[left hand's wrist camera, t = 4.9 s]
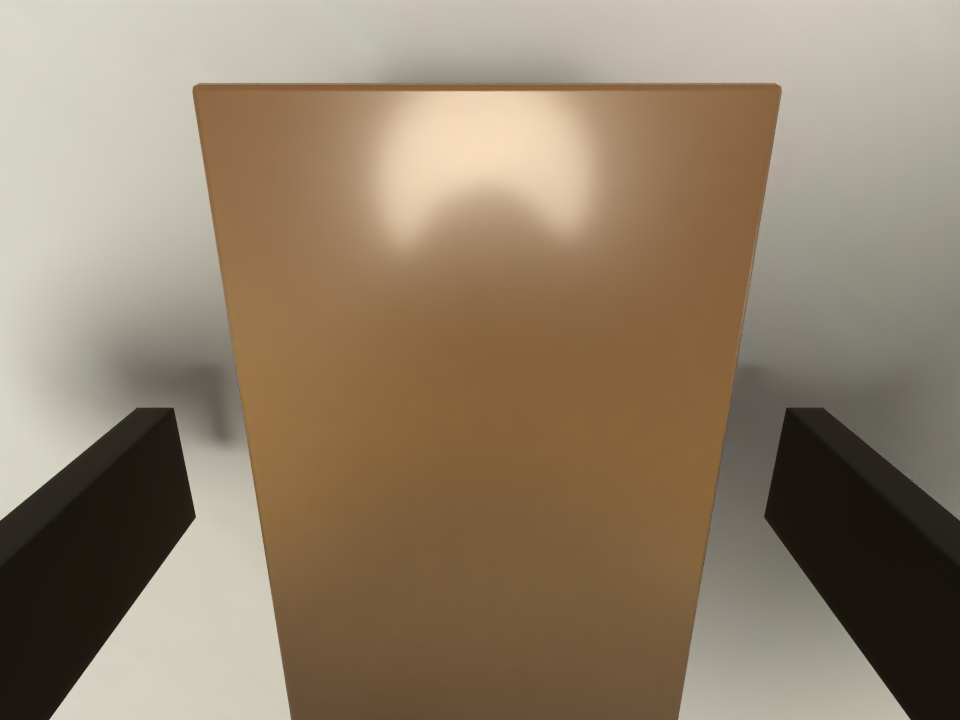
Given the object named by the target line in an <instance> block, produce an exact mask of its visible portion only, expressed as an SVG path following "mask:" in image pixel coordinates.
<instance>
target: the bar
mask: <svg viewBox="0 0 960 720" xmlns="http://www.w3.org/2000/svg"><path fill="white" fill-rule="evenodd" d="M781 92H782V91H781V86H780V85H778V84H776V83H199V84H197V85H195V86H193V98H194V104H195V110H196V117H197V123H198V130H199V136H200V142H201V149H202V155H203V161H204V168H205V174H206V180H207V187H208V193H209V200H210V206H211V212H212V219H213V225H214V231H215V238H216V244H217V250H218V257H219V263H220V269H221V276H222V282H223V289H224V295H225V301H226V308H227V314H228V320H229V327H230V333H231V339H232V346H233V352H234V358H235V365H236V371H237V378H238V384H239V390H240V397H241V403H242V409H243V416H244V422H245V428H246V435H247V441H248V447H249V454H250V460H251V467H252V473H253V479H254V486H255V492H256V498H257V505H258V511H259V517H260V524H261V530H262V536H263V543H264V549H265V556H266V562H267V568H268V575H269V581H270V587H271V594H272V600H273V606H274V613H275V619H276V625H277V632H278V638H279V645H280V651H281V657H282V664H283V670H284V676H285V683H286V689H287V695H288V702H289V708H290V714H291V720H678V716H679V710H680V704H681V698H682V692H683V686H684V680H685V674H686V668H687V662H688V656H689V650H690V644H691V638H692V632H693V626H694V619H695V613H696V607H697V601H698V595H699V589H700V583H701V577H702V571H703V565H704V559H705V553H706V547H707V541H708V535H709V529H710V523H711V516H712V510H713V504H714V498H715V492H716V486H717V480H718V474H719V468H720V462H721V456H722V450H723V444H724V438H725V432H726V426H727V419H728V413H729V407H730V401H731V395H732V389H733V383H734V377H735V371H736V365H737V359H738V353H739V347H740V341H741V335H742V329H743V322H744V316H745V310H746V304H747V298H748V292H749V286H750V280H751V274H752V268H753V262H754V256H755V250H756V244H757V238H758V232H759V225H760V219H761V213H762V207H763V201H764V195H765V189H766V183H767V177H768V171H769V165H770V159H771V153H772V147H773V141H774V135H775V128H776V122H777V116H778V110H779V104H780V98H781Z"/></svg>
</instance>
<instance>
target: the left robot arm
mask: <svg viewBox="0 0 960 720" xmlns="http://www.w3.org/2000/svg"><path fill="white" fill-rule="evenodd" d="M195 518H196V515H195V510H194V506H193V501H192V496H191V491H190V486H189V481H188V476H187V471H186V466H185V461H184V456H183V452H182V447H181V442H180V437H179V432H178V427H177V422H176V417H175V412H174V408H136V409H135V410H134V411H133V412H132V413H130V414H129V415H128V416H127V417H125V418H124V419H123V420H122V421H121V422H119V423H118V424H117V425H116V426H115V427H113V428H112V429H111V430H110V431H109V432H107V433H106V434H105V435H104V436H102V437H101V438H100V439H99V440H98V441H96V442H95V443H94V444H93V445H92V446H90V447H89V448H88V449H87V450H86V451H84V452H83V453H82V454H81V455H79V456H78V457H77V458H76V459H75V460H73V461H72V462H71V463H70V464H69V465H67V466H66V467H65V468H64V469H62V470H61V471H60V472H59V473H58V474H56V475H55V476H54V477H53V478H52V479H50V480H49V481H48V482H47V483H46V484H44V485H43V486H42V487H41V488H39V489H38V490H37V491H36V492H35V493H33V494H32V495H31V496H30V497H29V498H27V499H26V500H25V501H24V502H23V503H21V504H20V505H19V506H18V507H16V508H15V509H14V510H13V511H12V512H10V513H9V514H8V515H7V516H6V517H4V518H3V519H2V520H1V521H0V720H49V719H50V718H51V717H52V715H53V714H54V712H55V711H56V710H57V708H58V707H59V705H60V704H61V703H62V701H63V700H64V699H65V697H66V696H67V694H68V693H69V692H70V690H71V689H72V688H73V686H74V685H75V683H76V682H77V681H78V679H79V678H80V676H81V675H82V674H83V672H84V671H85V670H86V668H87V667H88V665H89V664H90V663H91V661H92V660H93V659H94V657H95V656H96V654H97V653H98V652H99V650H100V649H101V647H102V646H103V645H104V643H105V642H106V641H107V639H108V638H109V636H110V635H111V634H112V632H113V631H114V630H115V628H116V627H117V625H118V624H119V623H120V621H121V620H122V618H123V617H124V616H125V614H126V613H127V612H128V610H129V609H130V607H131V606H132V605H133V603H134V602H135V601H136V599H137V598H138V596H139V595H140V594H141V592H142V591H143V589H144V588H145V587H146V585H147V584H148V583H149V581H150V580H151V578H152V577H153V576H154V574H155V573H156V572H157V570H158V569H159V567H160V566H161V565H162V563H163V562H164V560H165V559H166V558H167V556H168V555H169V554H170V552H171V551H172V549H173V548H174V547H175V545H176V544H177V543H178V541H179V540H180V538H181V537H182V536H183V534H184V533H185V531H186V530H187V529H188V527H189V526H190V525H191V523H192V522H193V520H194V519H195ZM764 518H765V519H766V520H767V522H768V523H769V525H770V526H771V527H772V529H773V530H774V531H775V533H776V534H777V536H778V537H779V538H780V540H781V541H782V542H783V544H784V545H785V547H786V548H787V549H788V551H789V552H790V554H791V555H792V556H793V558H794V559H795V560H796V562H797V563H798V565H799V566H800V567H801V569H802V570H803V572H804V573H805V574H806V576H807V577H808V578H809V580H810V581H811V583H812V584H813V585H814V587H815V588H816V589H817V591H818V592H819V594H820V595H821V596H822V598H823V599H824V601H825V602H826V603H827V605H828V606H829V607H830V609H831V610H832V612H833V613H834V614H835V616H836V617H837V618H838V620H839V621H840V623H841V624H842V625H843V627H844V628H845V630H846V631H847V632H848V634H849V635H850V636H851V638H852V639H853V641H854V642H855V643H856V645H857V646H858V647H859V649H860V650H861V652H862V653H863V654H864V656H865V657H866V659H867V660H868V661H869V663H870V664H871V665H872V667H873V668H874V670H875V671H876V672H877V674H878V675H879V676H880V678H881V679H882V681H883V682H884V683H885V685H886V686H887V688H888V689H889V690H890V692H891V693H892V694H893V696H894V697H895V699H896V700H897V701H898V703H899V704H900V705H901V707H902V708H903V710H904V711H905V712H906V714H907V715H908V717H909V718H910V719H911V720H960V521H959V520H958V519H957V518H956V517H954V516H953V515H952V514H951V513H950V512H948V511H947V510H946V509H945V508H944V507H942V506H941V505H940V504H939V503H937V502H936V501H935V500H934V499H933V498H931V497H930V496H929V495H928V494H927V493H925V492H924V491H923V490H922V489H921V488H919V487H918V486H917V485H916V484H914V483H913V482H912V481H911V480H910V479H908V478H907V477H906V476H905V475H904V474H902V473H901V472H900V471H899V470H898V469H896V468H895V467H894V466H893V465H891V464H890V463H889V462H888V461H887V460H885V459H884V458H883V457H882V456H881V455H879V454H878V453H877V452H876V451H875V450H873V449H872V448H871V447H870V446H868V445H867V444H866V443H865V442H864V441H862V440H861V439H860V438H859V437H858V436H856V435H855V434H854V433H853V432H852V431H850V430H849V429H848V428H847V427H845V426H844V425H843V424H842V423H841V422H839V421H838V420H837V419H836V418H835V417H833V416H832V415H831V414H830V413H829V412H827V411H826V410H825V409H824V408H786V412H785V417H784V422H783V427H782V432H781V437H780V442H779V447H778V452H777V457H776V461H775V466H774V471H773V476H772V481H771V486H770V491H769V496H768V501H767V506H766V511H765V515H764Z"/></svg>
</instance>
